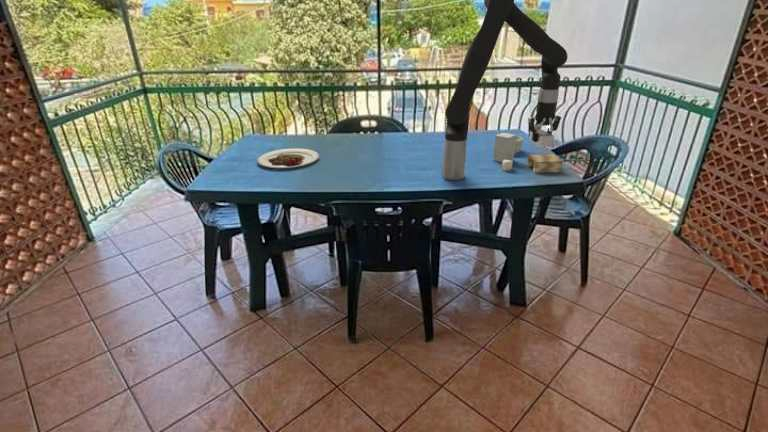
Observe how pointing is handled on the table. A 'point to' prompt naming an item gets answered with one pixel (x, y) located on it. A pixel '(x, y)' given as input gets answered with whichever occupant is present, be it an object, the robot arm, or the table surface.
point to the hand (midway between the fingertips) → (541, 140)
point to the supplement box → (504, 147)
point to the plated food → (288, 158)
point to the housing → (543, 138)
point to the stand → (544, 163)
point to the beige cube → (507, 165)
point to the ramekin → (518, 144)
